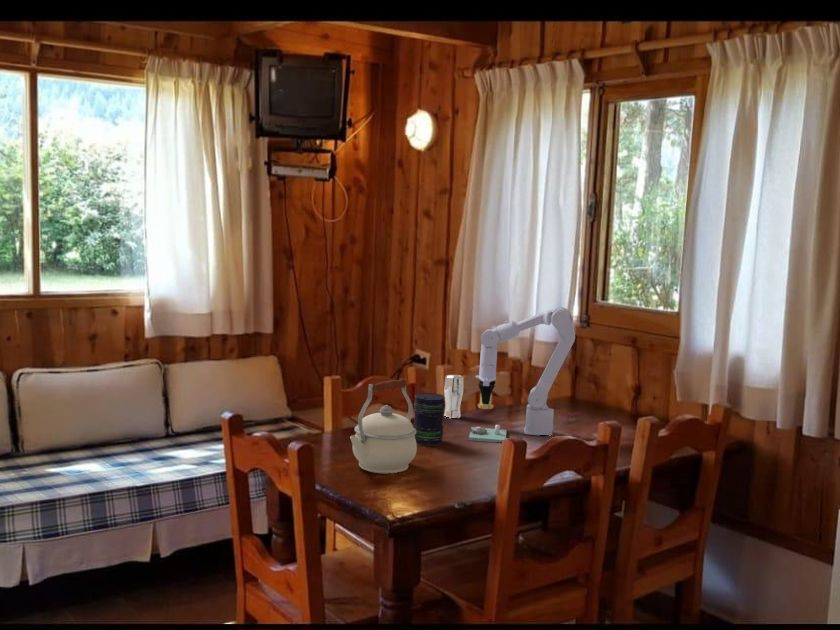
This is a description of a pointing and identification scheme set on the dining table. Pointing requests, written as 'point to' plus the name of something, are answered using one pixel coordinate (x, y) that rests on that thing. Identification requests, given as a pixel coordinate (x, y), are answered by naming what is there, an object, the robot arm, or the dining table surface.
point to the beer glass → (453, 395)
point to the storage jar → (429, 418)
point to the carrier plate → (487, 434)
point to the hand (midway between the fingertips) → (485, 402)
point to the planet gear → (485, 406)
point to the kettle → (385, 435)
